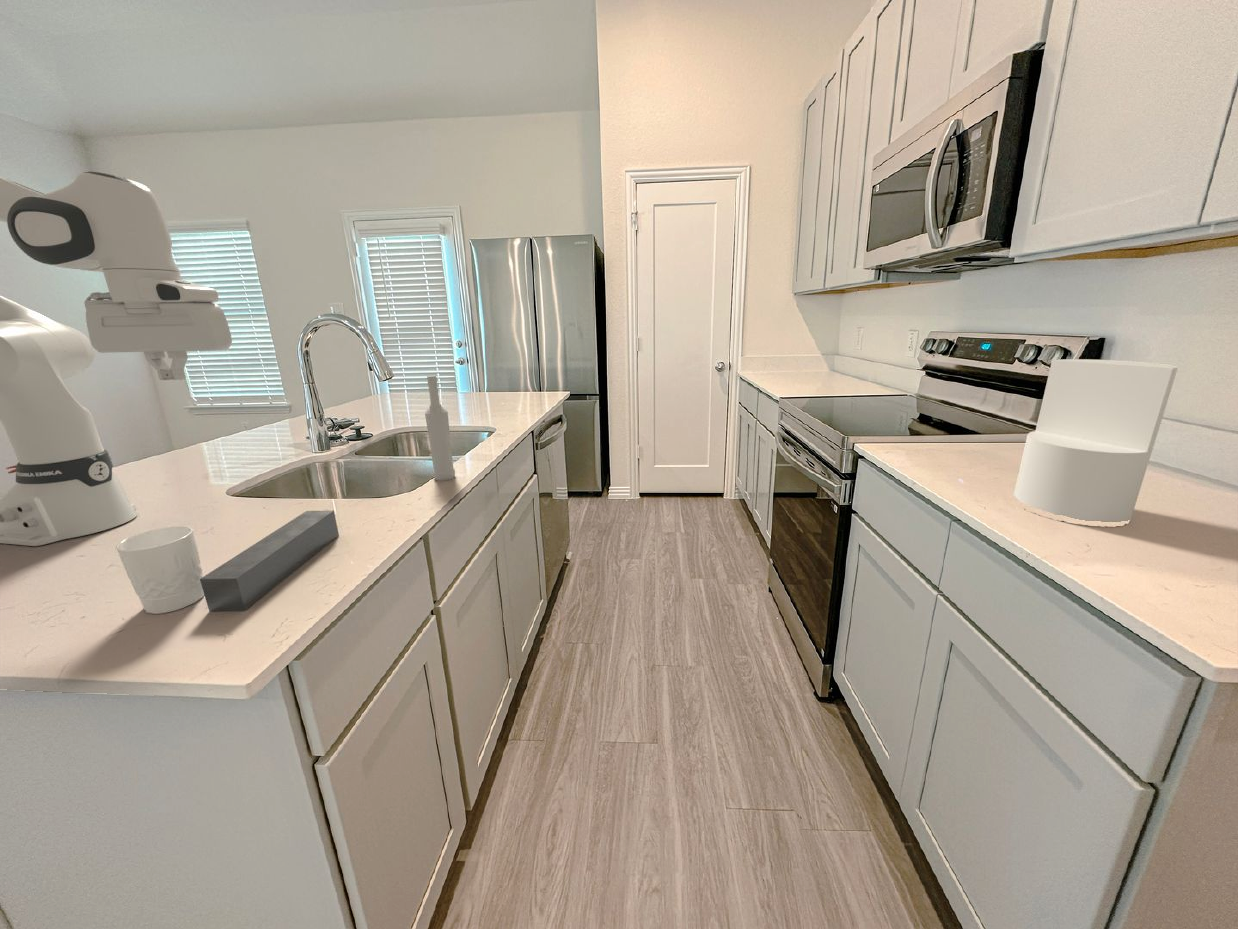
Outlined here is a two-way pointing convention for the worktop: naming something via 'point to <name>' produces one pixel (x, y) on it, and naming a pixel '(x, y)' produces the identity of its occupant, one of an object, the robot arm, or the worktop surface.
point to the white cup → (163, 568)
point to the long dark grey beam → (268, 562)
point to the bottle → (439, 435)
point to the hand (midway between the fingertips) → (173, 379)
